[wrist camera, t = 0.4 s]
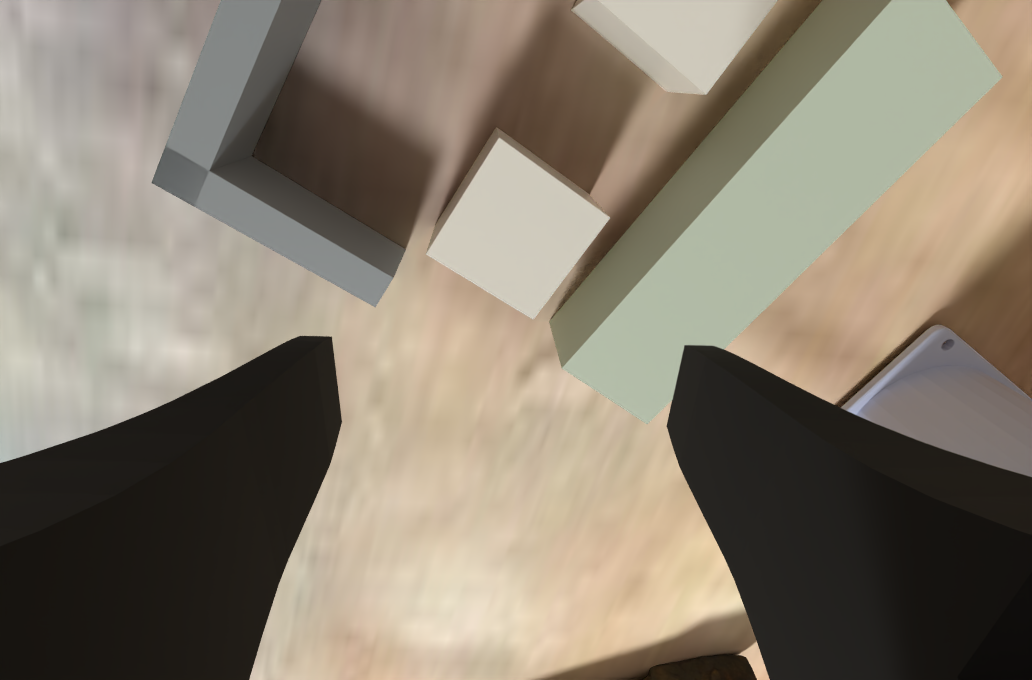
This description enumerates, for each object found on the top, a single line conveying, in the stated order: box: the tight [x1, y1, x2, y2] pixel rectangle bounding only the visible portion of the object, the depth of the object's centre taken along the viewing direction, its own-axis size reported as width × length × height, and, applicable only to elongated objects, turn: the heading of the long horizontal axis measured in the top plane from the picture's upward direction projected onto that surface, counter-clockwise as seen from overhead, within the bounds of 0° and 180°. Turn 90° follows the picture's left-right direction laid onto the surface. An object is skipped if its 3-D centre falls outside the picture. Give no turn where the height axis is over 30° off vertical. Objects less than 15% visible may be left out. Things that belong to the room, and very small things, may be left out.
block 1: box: [426, 127, 610, 319], centre depth 17 cm, size 4×4×4 cm
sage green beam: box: [549, 0, 1002, 424], centre depth 18 cm, size 4×14×4 cm, turn 143°
